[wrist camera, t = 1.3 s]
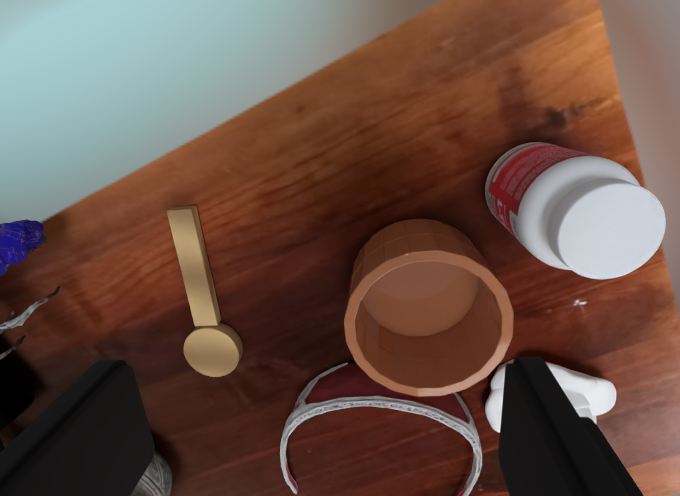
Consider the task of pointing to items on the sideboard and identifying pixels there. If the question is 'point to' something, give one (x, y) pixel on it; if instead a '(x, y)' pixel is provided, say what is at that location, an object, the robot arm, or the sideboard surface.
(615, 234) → the pill bottle
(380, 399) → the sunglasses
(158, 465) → the mug
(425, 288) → the pot
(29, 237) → the mechanical insect
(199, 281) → the wooden spoon
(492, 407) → the rose
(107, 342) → the sideboard surface
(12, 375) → the battery
